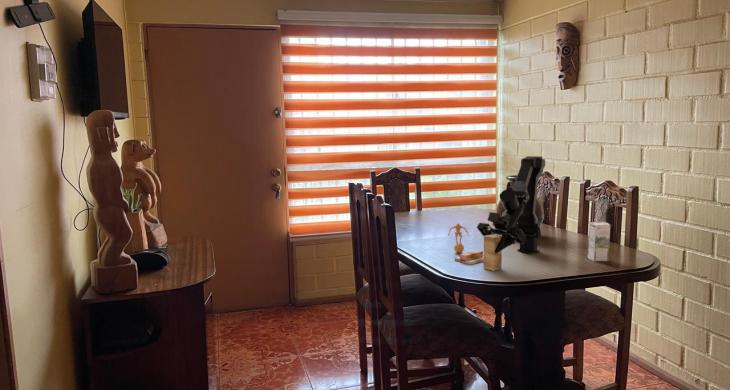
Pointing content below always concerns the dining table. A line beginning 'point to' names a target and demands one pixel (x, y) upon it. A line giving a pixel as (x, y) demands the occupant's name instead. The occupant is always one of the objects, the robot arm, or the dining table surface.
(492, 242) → the oak post
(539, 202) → the amphora vase
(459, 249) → the figurine
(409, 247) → the dining table surface
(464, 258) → the fulcrum
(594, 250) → the syrup box
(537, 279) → the dining table surface
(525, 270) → the dining table surface
